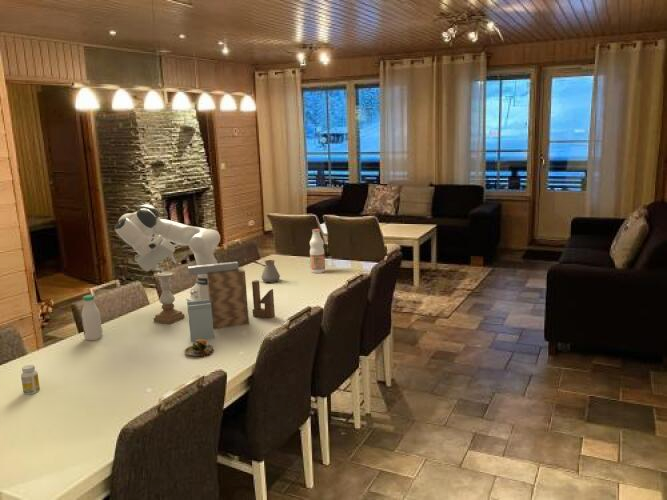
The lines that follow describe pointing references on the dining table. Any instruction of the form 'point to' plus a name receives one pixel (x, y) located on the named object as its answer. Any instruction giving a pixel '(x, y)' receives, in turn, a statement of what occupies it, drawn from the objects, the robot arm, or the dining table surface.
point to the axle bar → (213, 268)
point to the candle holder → (167, 301)
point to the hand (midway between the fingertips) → (168, 267)
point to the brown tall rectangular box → (228, 298)
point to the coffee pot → (268, 271)
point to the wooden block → (262, 302)
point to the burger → (199, 349)
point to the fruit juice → (317, 253)
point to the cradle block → (200, 319)
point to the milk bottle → (91, 319)
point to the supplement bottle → (30, 380)
